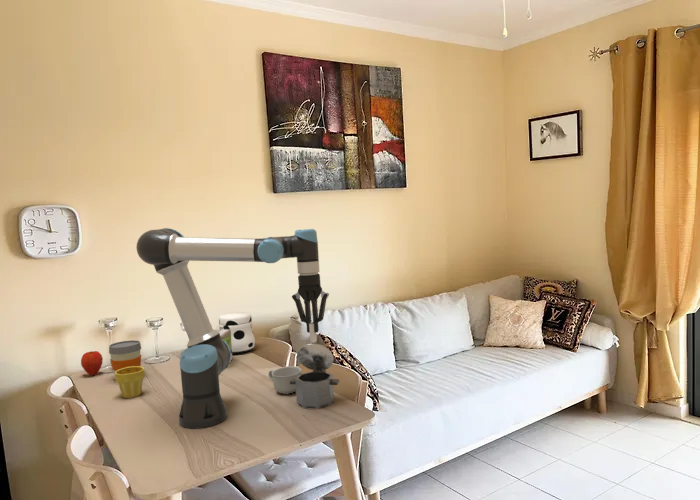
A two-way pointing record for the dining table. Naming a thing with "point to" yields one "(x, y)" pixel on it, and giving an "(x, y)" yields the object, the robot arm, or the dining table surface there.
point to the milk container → (238, 330)
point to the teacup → (284, 378)
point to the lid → (315, 357)
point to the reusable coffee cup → (125, 354)
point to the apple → (91, 362)
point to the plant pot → (130, 380)
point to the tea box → (226, 338)
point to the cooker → (315, 389)
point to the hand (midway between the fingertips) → (313, 341)
